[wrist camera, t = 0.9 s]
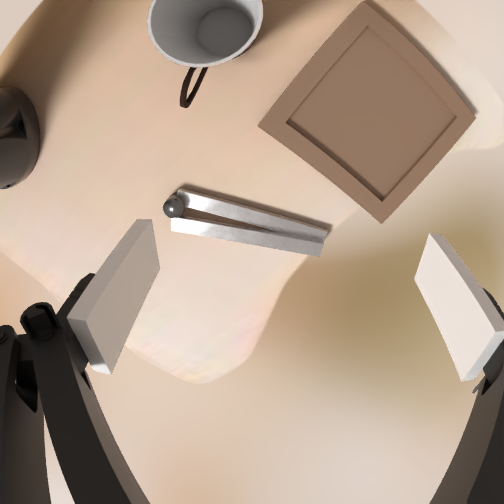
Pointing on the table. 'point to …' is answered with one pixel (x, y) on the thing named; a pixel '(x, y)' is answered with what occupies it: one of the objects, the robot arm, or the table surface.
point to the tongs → (291, 231)
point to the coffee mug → (202, 33)
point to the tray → (369, 113)
